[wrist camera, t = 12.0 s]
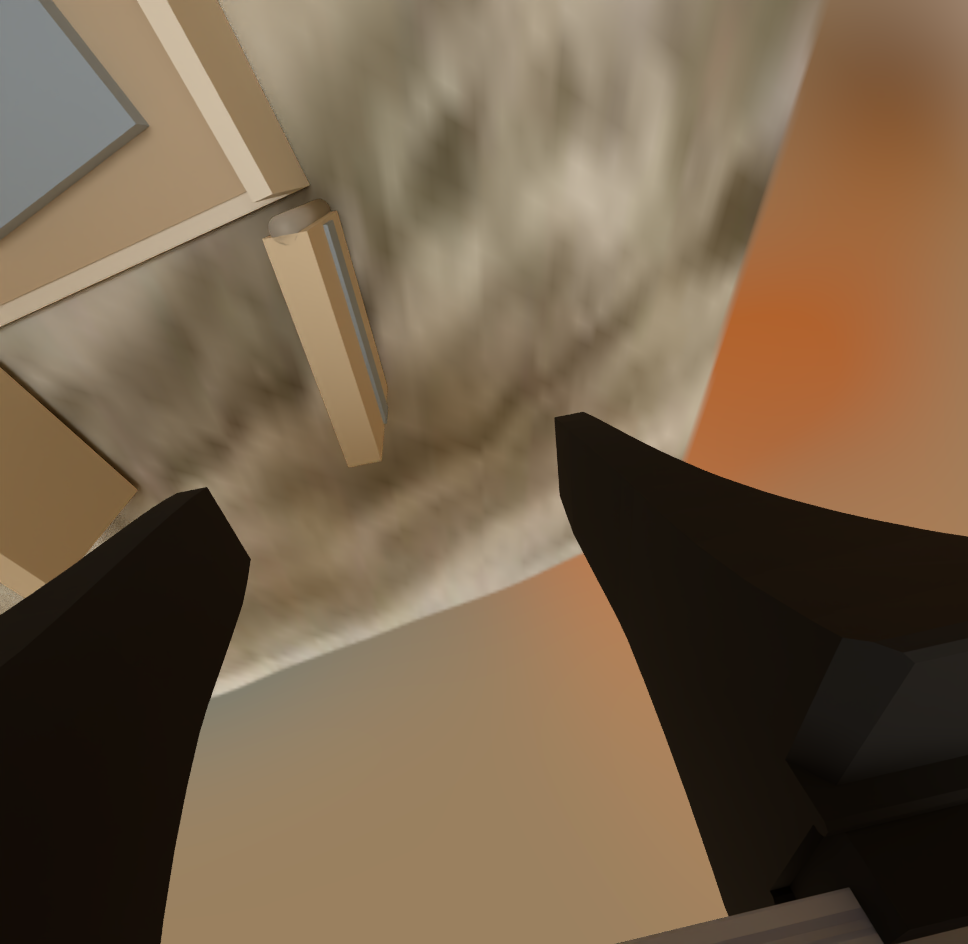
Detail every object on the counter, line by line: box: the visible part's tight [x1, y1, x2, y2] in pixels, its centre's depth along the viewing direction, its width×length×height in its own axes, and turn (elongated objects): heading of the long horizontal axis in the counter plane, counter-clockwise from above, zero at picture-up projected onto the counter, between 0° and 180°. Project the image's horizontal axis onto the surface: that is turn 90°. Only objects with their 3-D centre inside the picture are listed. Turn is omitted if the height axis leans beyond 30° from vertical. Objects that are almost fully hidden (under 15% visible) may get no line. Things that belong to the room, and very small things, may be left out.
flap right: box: [262, 199, 388, 468], centre depth 14 cm, size 7×1×6 cm, turn 9°
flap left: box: [0, 368, 138, 598], centre depth 15 cm, size 7×1×6 cm, turn 24°
